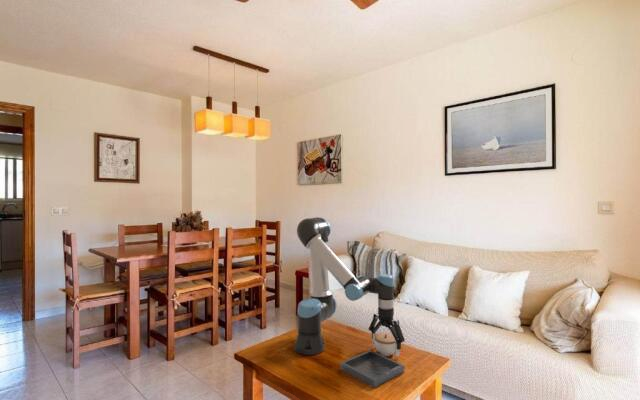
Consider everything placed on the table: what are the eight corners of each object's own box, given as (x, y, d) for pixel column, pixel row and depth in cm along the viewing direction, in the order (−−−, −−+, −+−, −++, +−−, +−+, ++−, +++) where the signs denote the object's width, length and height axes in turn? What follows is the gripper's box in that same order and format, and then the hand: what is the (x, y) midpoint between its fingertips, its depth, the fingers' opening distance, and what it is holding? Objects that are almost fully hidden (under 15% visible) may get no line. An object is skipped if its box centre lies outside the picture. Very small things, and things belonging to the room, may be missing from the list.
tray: (340, 369, 153) (340, 362, 153) (370, 356, 166) (370, 350, 166) (374, 387, 138) (374, 380, 138) (403, 372, 151) (403, 365, 151)
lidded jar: (401, 355, 166) (401, 336, 166) (383, 360, 162) (383, 340, 162) (388, 347, 176) (388, 328, 176) (370, 351, 172) (370, 332, 171)
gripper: (412, 311, 162) (412, 357, 162) (371, 299, 181) (371, 340, 181) (402, 315, 157) (402, 362, 157) (361, 302, 176) (361, 344, 176)
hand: (385, 350), depth 169 cm, fingers open, 13 cm apart
